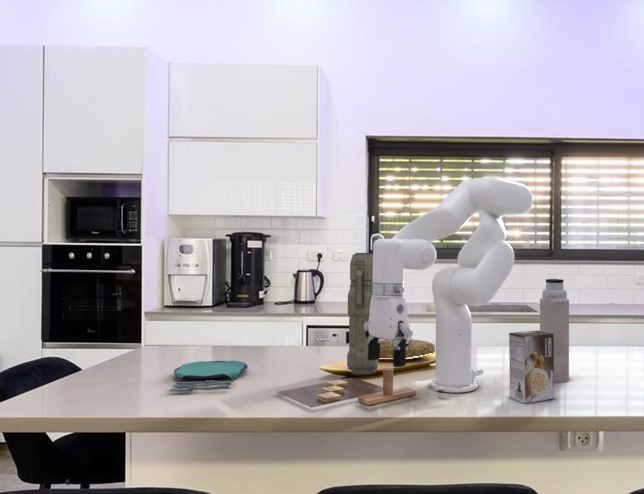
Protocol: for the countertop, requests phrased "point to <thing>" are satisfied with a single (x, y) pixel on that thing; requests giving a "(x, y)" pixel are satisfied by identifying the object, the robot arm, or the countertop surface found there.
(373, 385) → the tray
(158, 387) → the countertop surface
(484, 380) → the countertop surface
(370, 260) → the olive green flask
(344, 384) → the crumb
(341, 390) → the crumb
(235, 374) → the cutlery set
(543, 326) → the thermos bottle
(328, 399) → the crumb
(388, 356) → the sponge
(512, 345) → the brown white upright box
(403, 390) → the wooden knob plate
